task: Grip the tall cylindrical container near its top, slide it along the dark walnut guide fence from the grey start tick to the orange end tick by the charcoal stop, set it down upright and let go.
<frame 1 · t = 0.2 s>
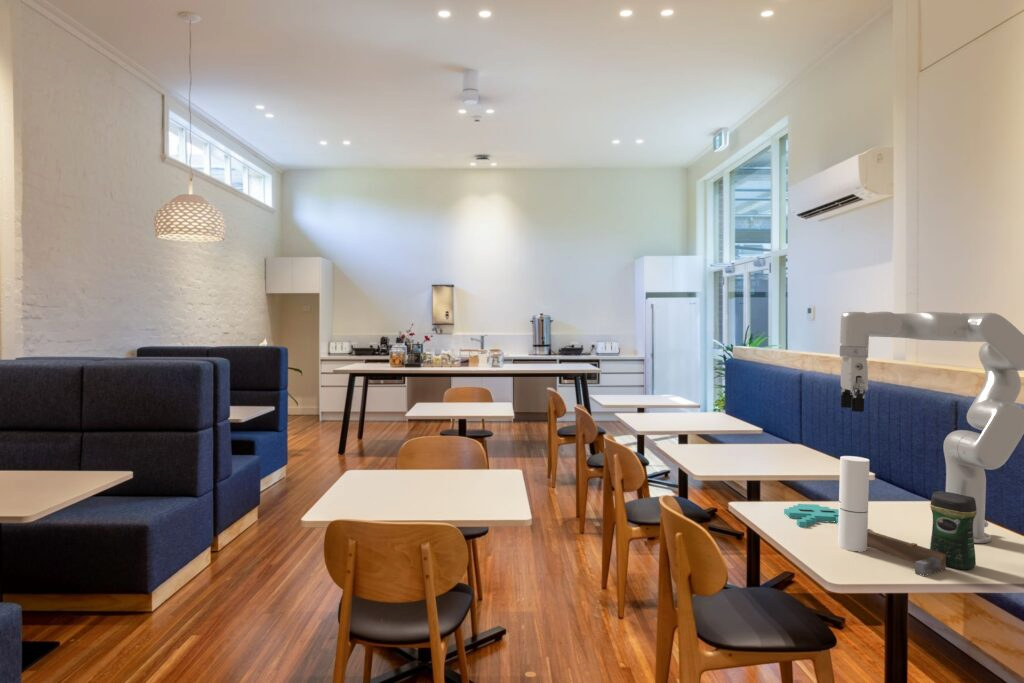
hand: (851, 409, 181), 37 cm above the table, tool pointing down, fingers open, 9 cm apart
guide fence: (889, 552, 165), on the table
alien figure: (819, 520, 195), on the table
coffee jar: (951, 564, 158), on the table
cylindrical container: (852, 547, 169), on the table
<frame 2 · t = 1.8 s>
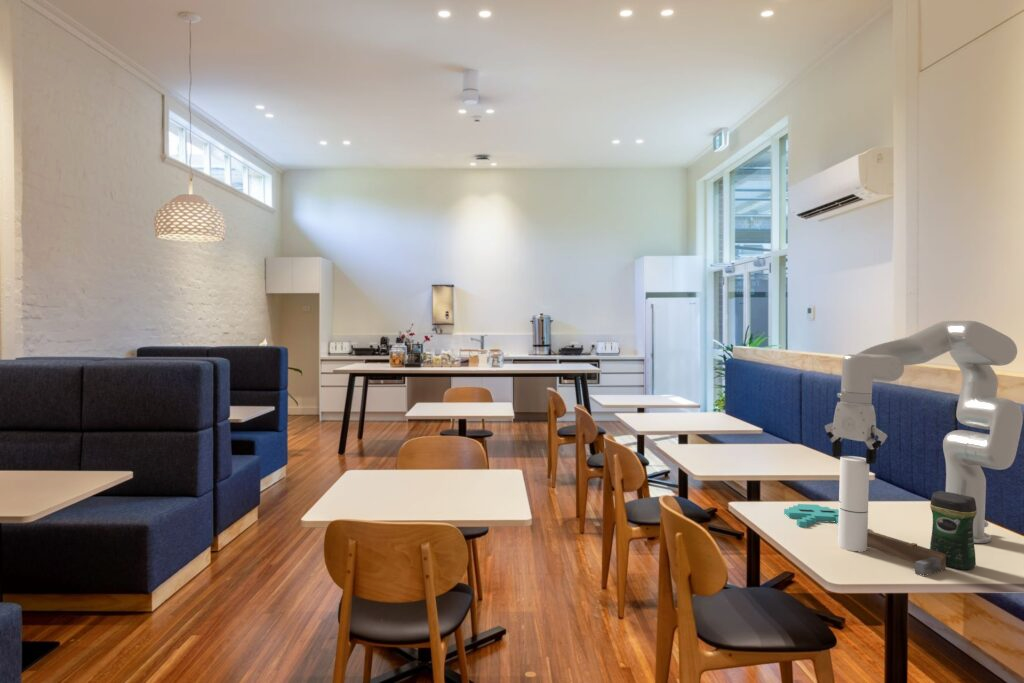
hand: (853, 459, 168), 25 cm above the table, tool pointing down, fingers open, 9 cm apart
nothing on the table moved.
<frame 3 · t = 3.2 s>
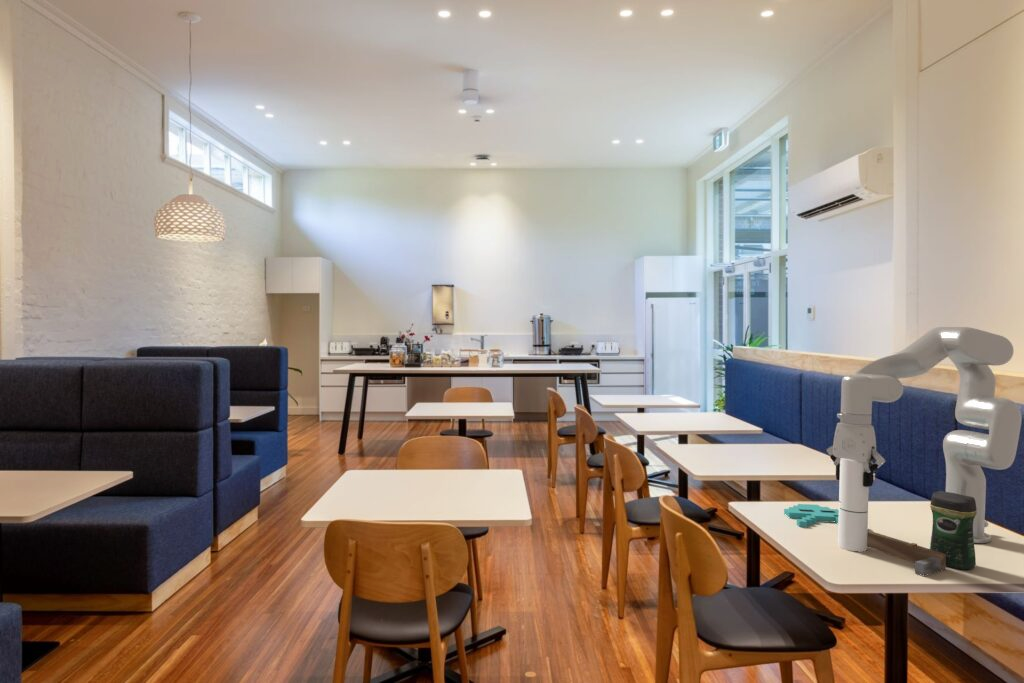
hand: (853, 482, 168), 18 cm above the table, tool pointing down, fingers closed on cylindrical container, 7 cm apart
cylindrical container: (852, 547, 169), on the table, touching gripper
everything else where it was.
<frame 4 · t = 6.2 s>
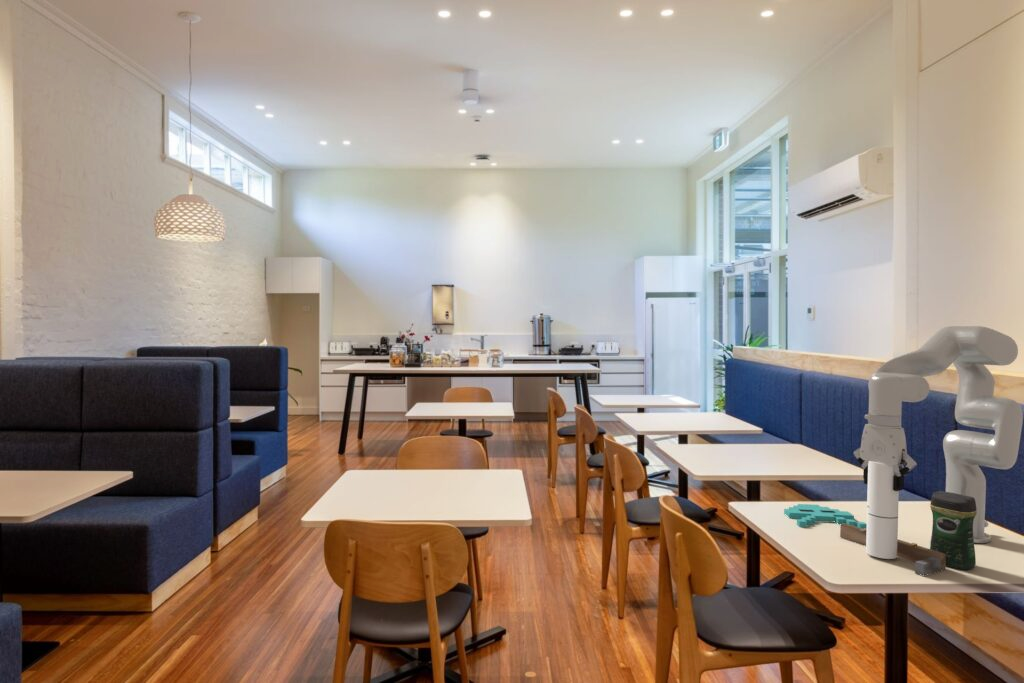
hand: (883, 486, 161), 19 cm above the table, tool pointing down, fingers closed on cylindrical container, 7 cm apart
cylindrical container: (881, 554, 162), point 1 cm above the table, touching gripper
everything else where it was.
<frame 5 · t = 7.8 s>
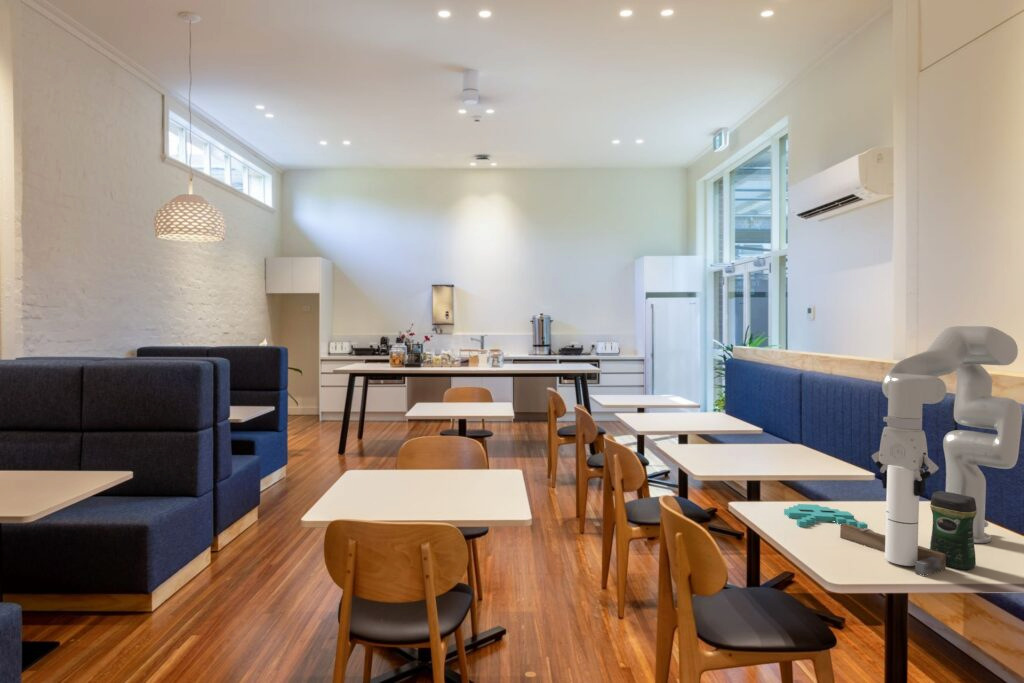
hand: (902, 490, 157), 19 cm above the table, tool pointing down, fingers closed on cylindrical container, 7 cm apart
cylindrical container: (900, 561, 157), point 1 cm above the table, touching gripper
everything else where it was.
when the fingers open (18 cm above the table, at t = 9.1 s): cylindrical container stays where it is, on the table.
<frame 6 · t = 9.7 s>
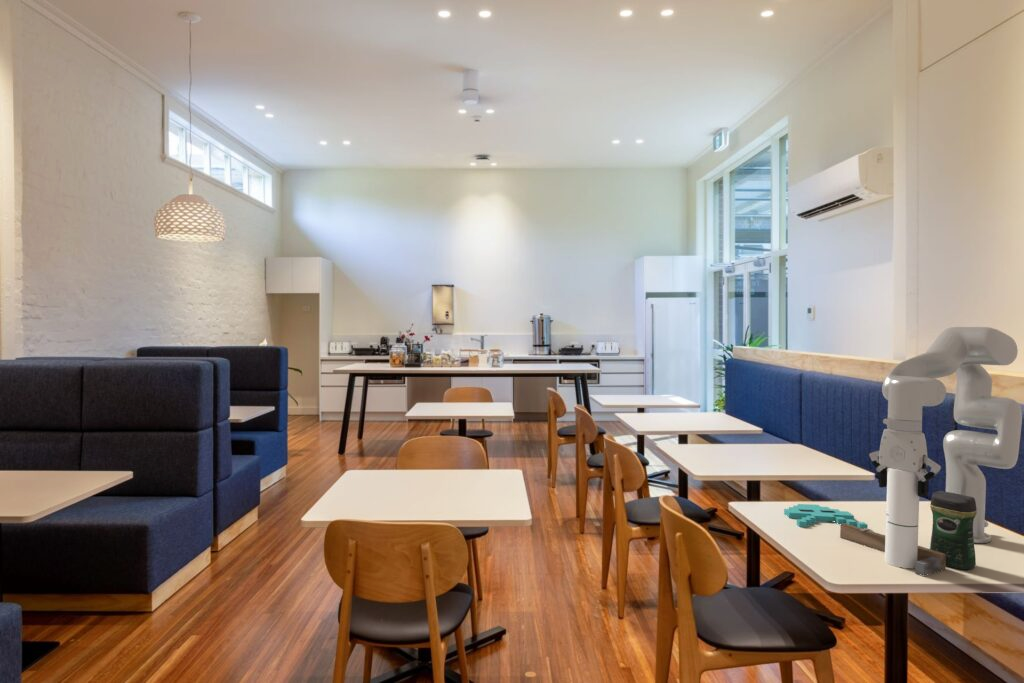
hand: (902, 491, 157), 19 cm above the table, tool pointing down, fingers open, 9 cm apart
cylindrical container: (900, 564, 157), on the table
everything else where it was.
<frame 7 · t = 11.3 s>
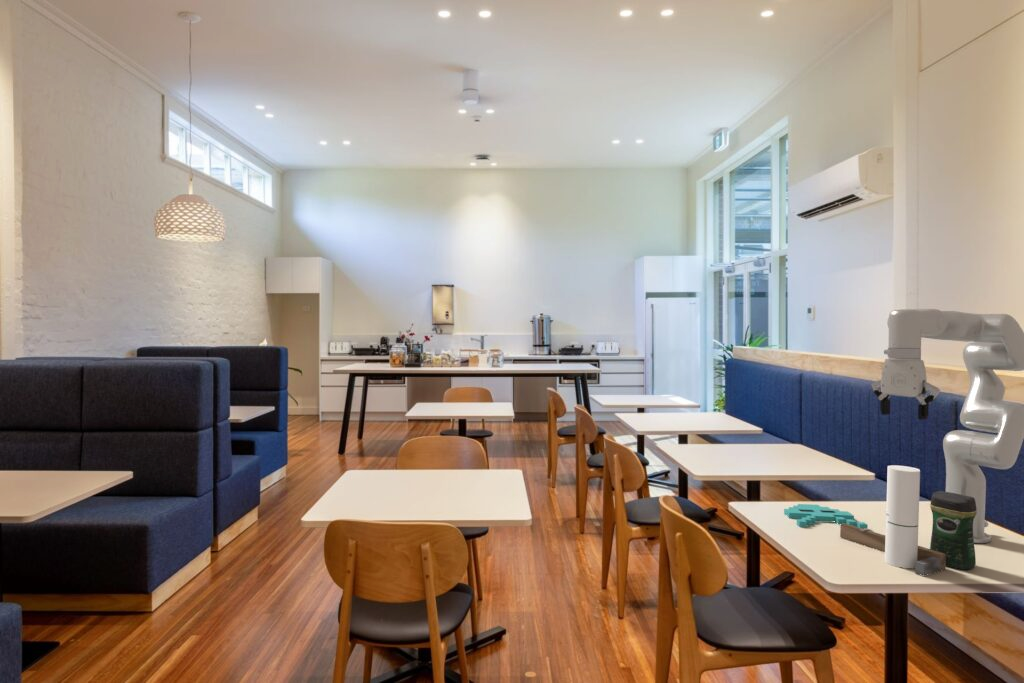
hand: (903, 416, 165), 37 cm above the table, tool pointing down, fingers open, 9 cm apart
nothing on the table moved.
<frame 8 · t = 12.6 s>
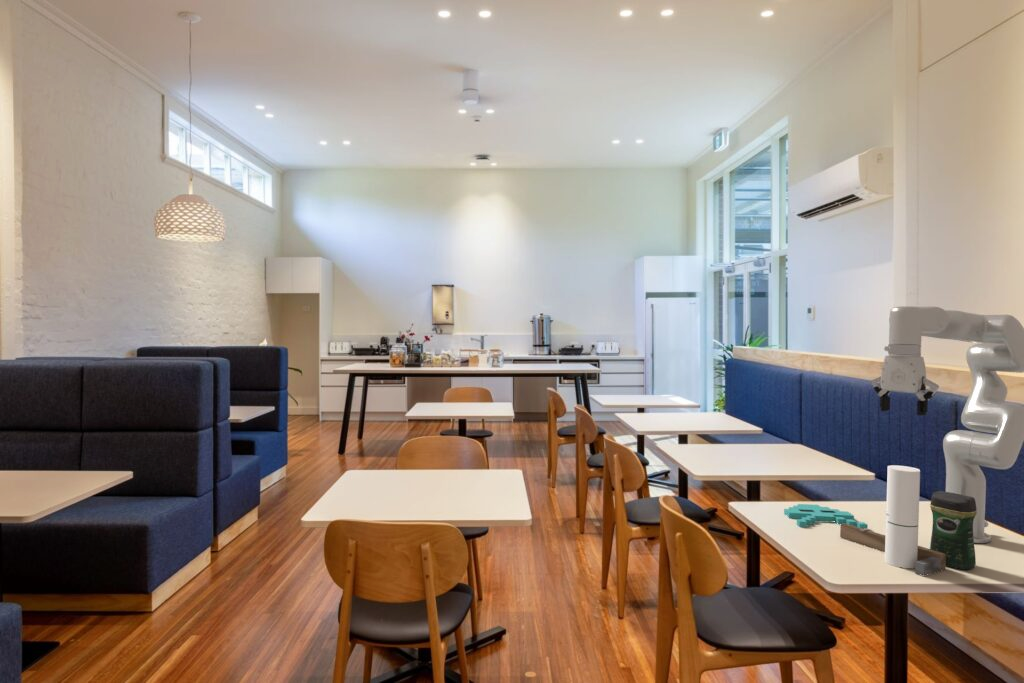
hand: (902, 412, 166), 38 cm above the table, tool pointing down, fingers open, 9 cm apart
nothing on the table moved.
at the end: cylindrical container 0.2 cm from the target spot, on the table; cylindrical container tilted 0°; the gripper is holding nothing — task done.
